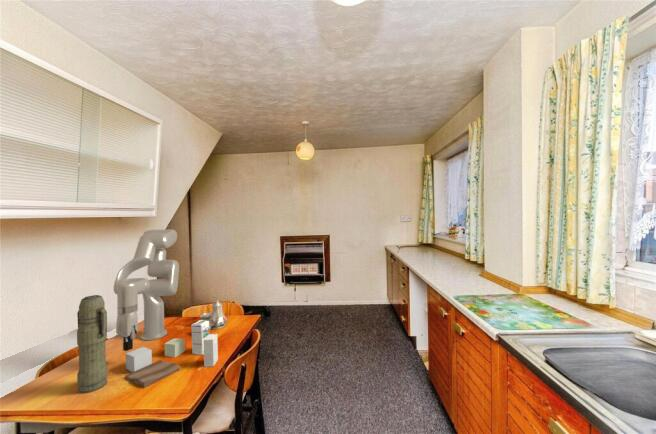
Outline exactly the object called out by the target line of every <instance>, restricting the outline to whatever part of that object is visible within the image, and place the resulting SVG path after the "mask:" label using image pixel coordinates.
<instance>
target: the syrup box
mask: <svg viewBox="0 0 656 434" xmlns="http://www.w3.org/2000/svg"><path fill="white" fill-rule="evenodd" d="M208 334H210V330H209V321H207V320H201V319H200V320H199V319H198V321H196V322H194V323H191V348H192V349H191V350H192V351H191V352H192V355H197V356H199V355H200V356H201V355H203V356H204V339H205V338H206V337H207V335H208Z"/></svg>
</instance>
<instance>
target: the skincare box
mask: <svg viewBox="0 0 656 434" xmlns="http://www.w3.org/2000/svg"><path fill="white" fill-rule="evenodd" d="M218 344H219V342H218V334H217V333H209V334H208V335H207V337H206V338H205V339H204V354H203V363H204V365H203V366H204V368H210V367H211V368H212V367H215V365H216V364H217V361H218V360H219V353H218V352H219V346H218Z"/></svg>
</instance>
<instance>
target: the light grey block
mask: <svg viewBox="0 0 656 434" xmlns="http://www.w3.org/2000/svg"><path fill="white" fill-rule="evenodd" d="M152 353H153V351H152V349H150V348H147V347H145V346H142V347H139V348H136V349H133V350H131V351H129V352H128V351H127V352H126V353H125V370H127V371H128V372H130V373H132V372H134V371H137V370H139V369H141V368H143V367H146V366H148V365H150V364H152V363H153V359H152V358H153V357H152Z"/></svg>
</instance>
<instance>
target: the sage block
mask: <svg viewBox="0 0 656 434" xmlns="http://www.w3.org/2000/svg"><path fill="white" fill-rule="evenodd" d="M185 342H186V340H185V339H184V338H176V337H175V338H173V339H171V340H168V341H167V342H165V343H164V357H170V358H176V357H178V356H180V355H181V354H183V353H184V352H185V351H186V349H185V347H186V346H185V345H186V344H185Z"/></svg>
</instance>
